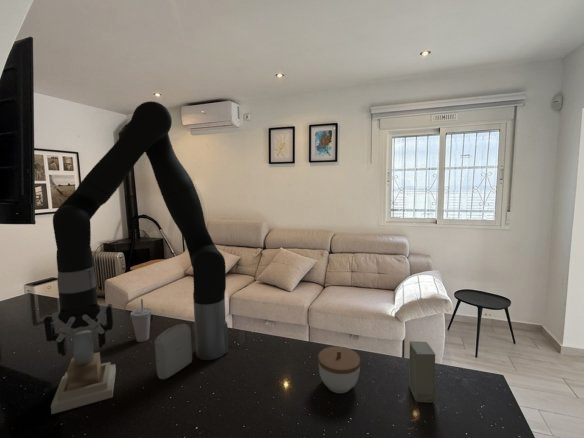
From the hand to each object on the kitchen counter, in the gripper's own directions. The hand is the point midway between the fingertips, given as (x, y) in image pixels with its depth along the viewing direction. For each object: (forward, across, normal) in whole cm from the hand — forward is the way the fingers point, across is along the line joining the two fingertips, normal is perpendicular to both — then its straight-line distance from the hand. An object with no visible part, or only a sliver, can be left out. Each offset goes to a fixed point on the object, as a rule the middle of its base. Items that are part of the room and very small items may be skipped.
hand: (83, 350), depth 75 cm
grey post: (+3, 0, 0) cm, 3 cm away
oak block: (+9, 0, 0) cm, 9 cm away
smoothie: (+11, +13, +22) cm, 28 cm away
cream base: (+11, 0, 0) cm, 11 cm away
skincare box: (+11, +74, -40) cm, 85 cm away
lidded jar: (+11, +58, -28) cm, 65 cm away
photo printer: (+11, +21, -1) cm, 24 cm away
